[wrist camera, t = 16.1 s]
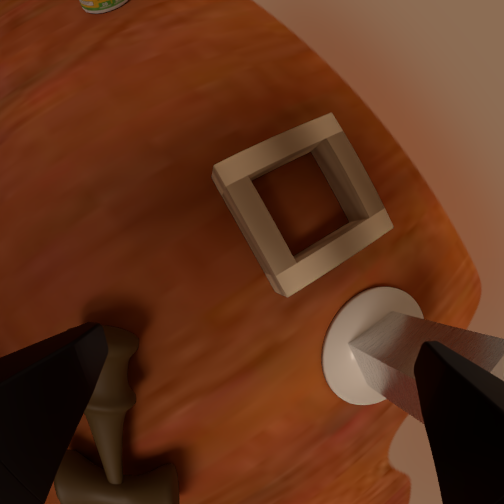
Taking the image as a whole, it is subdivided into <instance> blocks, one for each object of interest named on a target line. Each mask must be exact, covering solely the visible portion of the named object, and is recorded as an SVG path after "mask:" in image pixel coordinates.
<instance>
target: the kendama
mask: <svg viewBox="0 0 504 504" xmlns="http://www.w3.org/2000/svg"><path fill="white" fill-rule="evenodd" d="M102 326H103V325H102ZM74 328H75V327H74ZM70 329H72V328H70ZM70 329H68V330H70ZM103 329H104V332H105V336H106V340H107V343H108V349H109V350H108V355H107V358H106V361H105V363H104V366H103V368H102V371H101V374H100V376H99V379H98V382H97V384H96V387H95V390H94V392H93V395H92V397H91V399H90V401H89V403H88V405H87V407H86V409H85V411H84V414H85V415H86V418H87V420H88V423H89V426H90V429H91V431H92V434H93V437H94V440H95V443H96V446H97V449H98V452H99V455H100V458H101V461H102V464H103V467H104V469H101V468H99V467H98V466H96V465H95V464H93V463H92V462H90V461H89V460H88V459H87V458H85V457H84V456H83V455H81V454H80V453H79V452H77V451H75V450H66V453H65V455H64V457H63V459H62V462H61V464H60V466H59V469H58V471H57V474H56V476H55V478H54V486H55V490H56V494H57V497H58V499H59V501H60V502H61V504H179V483H178V475H177V472H176V468H175V466H174V464H171V463H169V464H166V465H164V466H161V467H159V468H157V469H155V470H152V471H150V472H148V473H145V474H142V475H137V476H132V475H123V467H122V437H123V424H124V418H125V414H126V411H127V410H128V409H130V408H131V407H132V406H133V405H134V404H135V403H136V394H135V393H134V392H133V390H132V389H131V388H130V386H129V384H128V376H127V374H128V362H129V359H130V357H131V356H132V355H133V353H135V352H136V350H137V348H138V345H139V338H138V337H137V336H136V335H134V334H133V333H131V332H129V331H127V330H124V329H121V328H117V327H112V326H103Z"/></svg>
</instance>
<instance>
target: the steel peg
mask: <svg viewBox="0 0 504 504" xmlns="http://www.w3.org/2000/svg"><path fill="white" fill-rule="evenodd" d="M425 341H438V342H440V343H442V344H443V345H445V346H447V347H448V348H450V349H452V350H453V351H455V352H457V353H458V354H460V355H462V356H463V357H465V358H467V359H468V360H470V361H472V362H473V363H475V364H477V365H478V366H480V367H482V368H483V369H485V370H486V371H488V372H490V373H491V374H493V375H495V376H496V377H498V378H500V379H501V380H503V381H504V339H502V338H498V337H493V336H489V335H485V334H481V333H477V332H472V331H469V330H465V329H461V328H457V327H453V326H449V325H445V324H441V323H437V322H433V321H429V320H425V319H421V318H418V317H414V316H410V315H406V314H402V313H398V312H395V311H390V312H389V313H388V314H387V315H385V316H384V317H383V318H382V319H380V320H379V321H378V322H376V323H375V324H374V325H372V326H371V327H370V328H368V329H367V330H366V331H364V332H363V333H362V334H360V335H359V336H358V337H356V338H355V339H354V340H352V341H351V342H349V343H348V345H349V347H350V349H351V351H352V353H353V355H354V357H355V359H356V362H357V364H358V366H359V368H360V370H361V372H362V374H363V376H364V379H365V381H366V383H367V385H368V386H369V387H371V388H372V389H374V390H375V391H376V392H378V393H379V394H381V395H382V396H384V397H385V398H386V399H388V400H389V401H391V402H392V403H394V404H395V405H397V406H398V407H399V408H401V409H402V410H404V411H405V412H407V413H408V414H410V415H411V416H413V417H414V418H416V419H417V420H419V421H420V422H422V423H423V424H424V421H423V417H422V412H421V407H420V402H419V396H418V391H417V386H416V381H415V376H414V364H415V361H416V358H417V356H418V353H419V350H420V347H421V345H422V343H423V342H425Z"/></svg>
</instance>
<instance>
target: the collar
mask: <svg viewBox="0 0 504 504" xmlns="http://www.w3.org/2000/svg"><path fill="white" fill-rule="evenodd" d="M309 152H311V153H312V155H313V157H314V158H315V160H316V162H317V163H318V165H319V167H320V169H321V170H322V172H323V174H324V176H325V178H326V179H327V181H328V183H329V185H330V187H331V189H332V190H333V192H334V194H335V196H336V198H337V200H338V202H339V203H340V205H341V207H342V209H343V211H344V213H345V215H346V217H347V219H348V221H349V223H347V224H345V225H344V226H342V227H341V228H339V229H337V230H336V231H334V232H332V233H331V234H329V235H328V236H326V237H324V238H323V239H321V240H319V241H318V242H316V243H314V244H313V245H311V246H309V247H308V248H306V249H305V250H303V251H301V252H300V253H298V254H296V255H295V256H293V255H292V254H291V252H290V250H289V248H288V246H287V244H286V243H285V241H284V239H283V237H282V235H281V233H280V232H279V230H278V228H277V226H276V224H275V222H274V221H273V219H272V217H271V215H270V213H269V212H268V210H267V208H266V206H265V205H264V203H263V201H262V199H261V197H260V196H259V194H258V192H257V190H256V189H255V187H254V185H253V183H252V180H254V179H256V178H258V177H260V176H262V175H264V174H266V173H268V172H270V171H272V170H274V169H276V168H278V167H280V166H282V165H284V164H286V163H288V162H290V161H292V160H294V159H297V158H299V157H301V156H303V155H305V154H307V153H309ZM211 178H212V180H213V182H214V183H215V185H216V187H217V189H218V191H219V192H220V194H221V196H222V198H223V200H224V201H225V203H226V205H227V207H228V208H229V210H230V212H231V214H232V216H233V217H234V219H235V221H236V223H237V225H238V226H239V228H240V230H241V232H242V234H243V235H244V237H245V239H246V241H247V243H248V244H249V246H250V248H251V250H252V251H253V253H254V255H255V257H256V259H257V260H258V262H259V264H260V266H261V268H262V269H263V271H264V273H265V275H266V277H267V278H268V280H269V282H270V284H271V286H272V287H273V289H274V291H275V292H276V293H278V294H281V295H283V296H285V297H287V298H288V297H289V296H291V295H292V294H294V293H296V292H297V291H299V290H300V289H302V288H304V287H305V286H307V285H308V284H310V283H312V282H313V281H315V280H316V279H318V278H319V277H321V276H322V275H324V274H326V273H327V272H329V271H330V270H332V269H333V268H335V267H336V266H338V265H339V264H341V263H342V262H344V261H345V260H347V259H348V258H350V257H351V256H353V255H354V254H356V253H357V252H359V251H360V250H362V249H363V248H365V247H366V246H368V245H369V244H371V243H372V242H374V241H375V240H377V239H378V238H379V237H381V236H382V235H384V234H385V233H387V232H388V231H389V230H391V229H392V228H394V227H393V224H392V222H391V220H390V218H389V216H388V214H387V212H386V210H385V207H384V205H383V203H382V201H381V199H380V197H379V195H378V193H377V191H376V189H375V187H374V185H373V184H372V182H371V180H370V178H369V176H368V174H367V172H366V170H365V168H364V167H363V165H362V163H361V161H360V159H359V158H358V156H357V154H356V152H355V150H354V149H353V147H352V145H351V144H350V142H349V140H348V138H347V137H346V135H345V133H344V132H343V130H342V128H341V127H340V125H339V123H338V122H337V120H336V119H335V117H334V115H333V114H332V113H329V114H327V115H324V116H322V117H319V118H317V119H314V120H312V121H309V122H307V123H304V124H302V125H300V126H297V127H295V128H293V129H290V130H288V131H286V132H283V133H281V134H279V135H276V136H274V137H272V138H270V139H267V140H265V141H263V142H261V143H259V144H256V145H254V146H252V147H250V148H248V149H246V150H244V151H241V152H239V153H237V154H235V155H233V156H231V157H229V158H227V159H225V160H223V161H221V162H219V163H217V164H215V165H214V166H213V171H212V176H211Z"/></svg>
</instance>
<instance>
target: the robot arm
mask: <svg viewBox="0 0 504 504" xmlns="http://www.w3.org/2000/svg"><path fill="white" fill-rule="evenodd" d="M108 350H109V349H108V343H107V340H106V336H105V332H104V329H103V326H102V325H101V324H99V323H94V322H87V323H84V324H82V325H80V326H77V327H75V328H72V329H70V330H67V331H65V332H62V333H60V334H58V335H55V336H53V337H50V338H48V339H45V340H43V341H40V342H38V343H35V344H33V345H31V346H28V347H26V348H23V349H21V350H18V351H16V352H13V353H11V354H8V355H6V356H4V357H1V358H0V504H44V503H45V501H46V499H47V496H48V493H49V491H50V488H51V486H52V483H53V481H54V478H55V476H56V474H57V471H58V469H59V466H60V464H61V462H62V459H63V457H64V455H65V453H66V450H67V448H68V446H69V444H70V441H71V439H72V437H73V435H74V433H75V430H76V428H77V426H78V424H79V422H80V420H81V418H82V416H83V413H84V411H85V409H86V407H87V405H88V403H89V401H90V399H91V397H92V395H93V392H94V390H95V387H96V384H97V382H98V379H99V376H100V374H101V371H102V368H103V366H104V363H105V361H106V358H107V355H108ZM414 376H415V381H416V386H417V391H418V396H419V402H420V407H421V412H422V417H423V421H424V424H425V428H426V432H427V436H428V439H429V443H430V447H431V451H432V455H433V459H434V463H435V468H436V472H437V477H438V482H439V486H440V491H441V497H442V502H443V504H504V381H503V380H501V379H500V378H498V377H496V376H495V375H493V374H491V373H490V372H488V371H486V370H485V369H483V368H482V367H480V366H478V365H477V364H475V363H473V362H472V361H470V360H468V359H467V358H465V357H463V356H462V355H460V354H458V353H457V352H455V351H453V350H452V349H450V348H448V347H447V346H445V345H443V344H442V343H440V342H438V341H425V342H423V343H422V345H421V347H420V350H419V353H418V356H417V358H416V361H415V364H414Z"/></svg>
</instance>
